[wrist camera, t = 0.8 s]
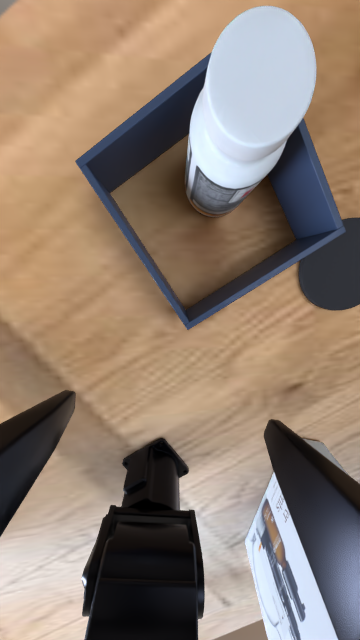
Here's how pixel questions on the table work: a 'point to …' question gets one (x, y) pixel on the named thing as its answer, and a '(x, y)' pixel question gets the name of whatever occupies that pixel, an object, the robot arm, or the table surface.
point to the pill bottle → (247, 107)
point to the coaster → (334, 270)
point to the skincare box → (286, 570)
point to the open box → (286, 176)
